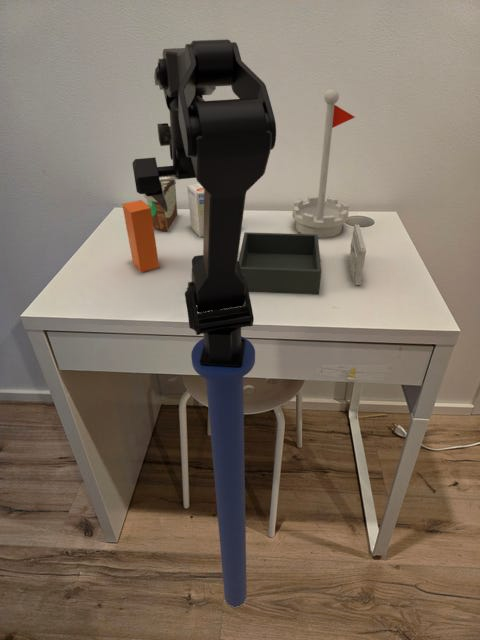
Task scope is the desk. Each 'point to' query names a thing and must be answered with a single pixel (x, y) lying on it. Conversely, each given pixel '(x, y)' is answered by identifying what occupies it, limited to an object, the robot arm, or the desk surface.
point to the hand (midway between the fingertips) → (190, 207)
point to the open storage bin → (281, 262)
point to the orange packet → (141, 235)
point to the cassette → (357, 255)
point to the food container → (159, 216)
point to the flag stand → (324, 185)
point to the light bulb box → (196, 208)
